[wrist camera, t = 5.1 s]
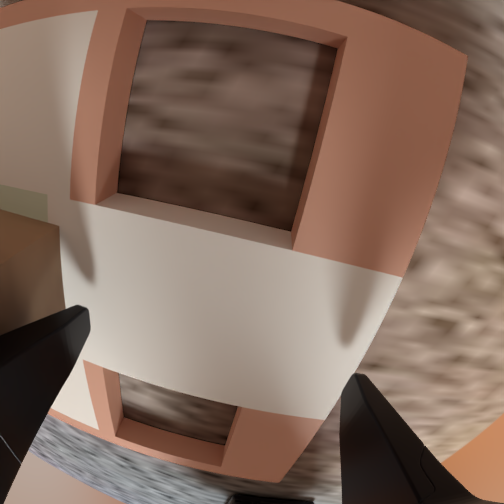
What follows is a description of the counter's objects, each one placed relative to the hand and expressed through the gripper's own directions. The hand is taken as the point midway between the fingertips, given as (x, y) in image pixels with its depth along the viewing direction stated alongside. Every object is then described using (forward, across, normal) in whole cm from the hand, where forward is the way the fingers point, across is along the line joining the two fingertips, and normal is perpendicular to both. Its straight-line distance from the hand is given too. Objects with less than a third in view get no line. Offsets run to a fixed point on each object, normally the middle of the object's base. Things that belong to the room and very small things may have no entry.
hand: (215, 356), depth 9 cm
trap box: (+2, +4, 0) cm, 4 cm away
